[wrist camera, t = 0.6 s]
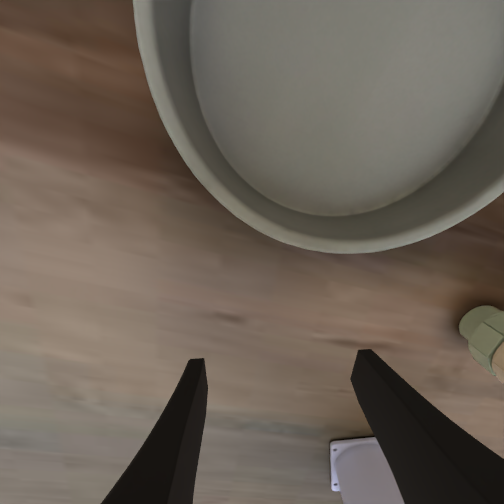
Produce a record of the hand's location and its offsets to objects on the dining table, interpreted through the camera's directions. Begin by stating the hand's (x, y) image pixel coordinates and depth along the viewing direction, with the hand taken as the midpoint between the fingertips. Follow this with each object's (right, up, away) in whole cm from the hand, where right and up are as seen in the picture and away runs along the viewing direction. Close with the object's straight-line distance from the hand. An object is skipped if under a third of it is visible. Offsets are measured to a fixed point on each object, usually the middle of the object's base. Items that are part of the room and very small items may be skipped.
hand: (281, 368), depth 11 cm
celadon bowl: (+21, -1, +12) cm, 24 cm away
